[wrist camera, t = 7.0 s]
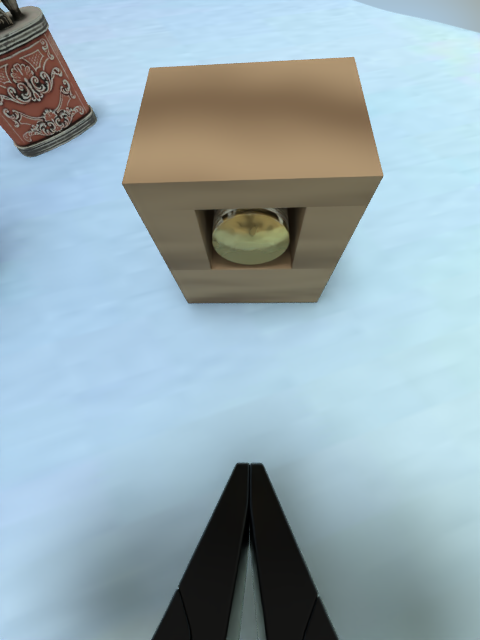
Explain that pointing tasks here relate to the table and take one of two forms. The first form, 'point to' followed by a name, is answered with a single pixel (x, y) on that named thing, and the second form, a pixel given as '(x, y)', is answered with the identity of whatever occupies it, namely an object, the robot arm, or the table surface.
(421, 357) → the table surface
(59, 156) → the table surface
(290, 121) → the walnut block
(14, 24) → the lighter
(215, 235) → the silver and gold cylinder
